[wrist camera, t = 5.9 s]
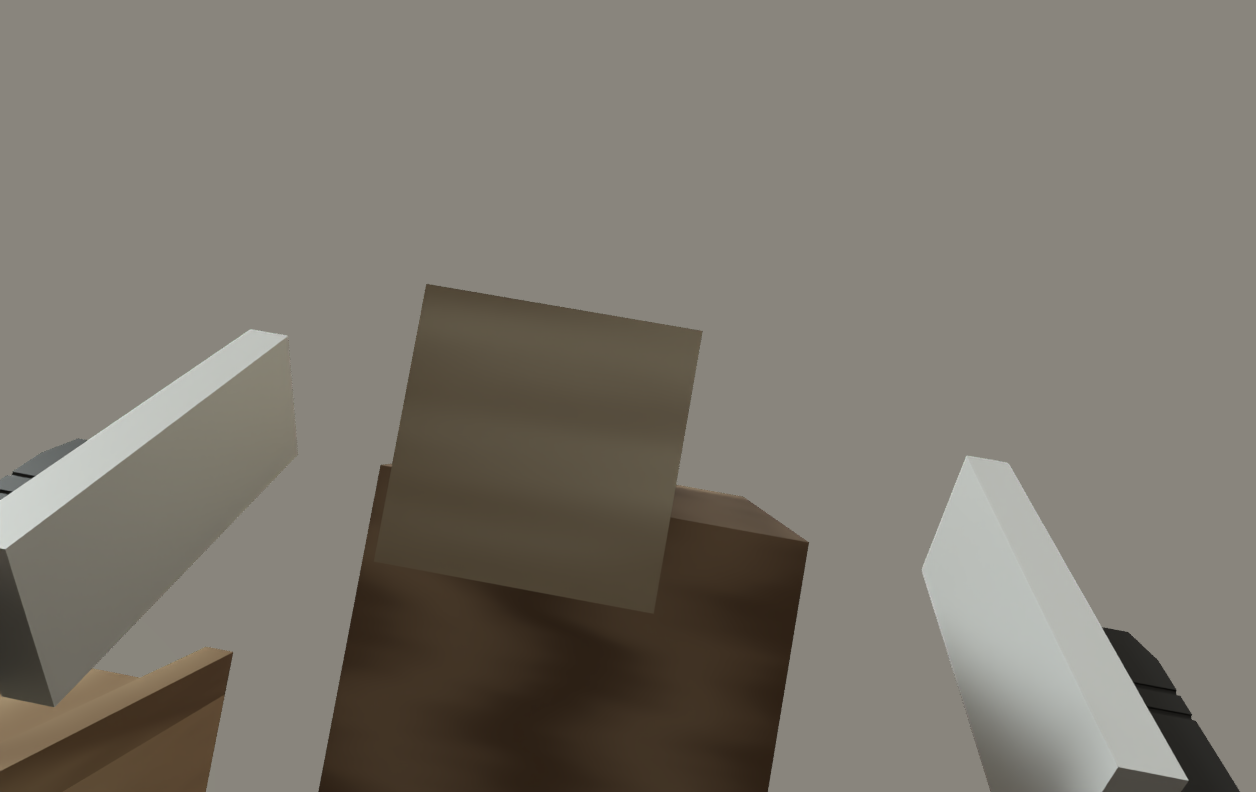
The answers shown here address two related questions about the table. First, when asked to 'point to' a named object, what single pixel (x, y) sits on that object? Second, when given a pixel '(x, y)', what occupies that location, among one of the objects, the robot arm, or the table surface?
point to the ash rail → (539, 448)
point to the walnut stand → (574, 671)
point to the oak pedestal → (119, 731)
